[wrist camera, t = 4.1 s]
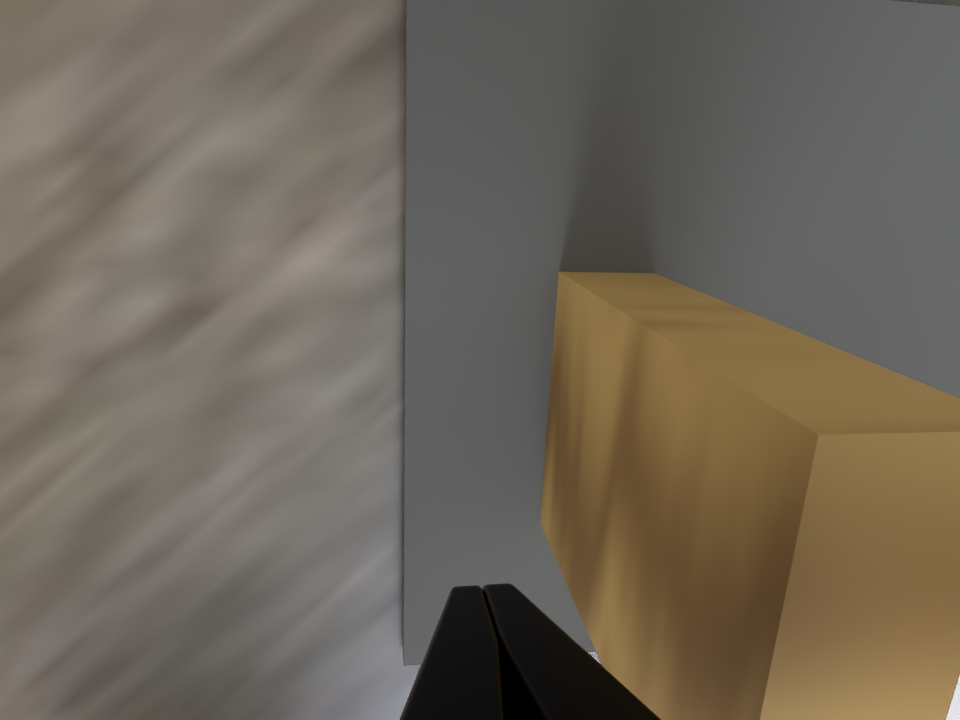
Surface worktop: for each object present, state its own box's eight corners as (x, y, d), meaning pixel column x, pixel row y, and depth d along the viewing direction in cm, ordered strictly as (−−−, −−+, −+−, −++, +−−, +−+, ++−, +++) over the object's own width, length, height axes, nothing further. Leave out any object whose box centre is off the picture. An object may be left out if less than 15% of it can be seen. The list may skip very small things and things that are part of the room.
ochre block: (626, 519, 18) (887, 904, 9) (540, 523, 18) (715, 929, 8) (654, 273, 16) (1034, 429, 7) (558, 271, 16) (817, 434, 6)
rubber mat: (937, 612, 22) (952, 625, 21) (402, 650, 19) (403, 665, 19) (1107, 25, 17) (1131, 21, 16) (405, -34, 14) (406, -42, 13)
